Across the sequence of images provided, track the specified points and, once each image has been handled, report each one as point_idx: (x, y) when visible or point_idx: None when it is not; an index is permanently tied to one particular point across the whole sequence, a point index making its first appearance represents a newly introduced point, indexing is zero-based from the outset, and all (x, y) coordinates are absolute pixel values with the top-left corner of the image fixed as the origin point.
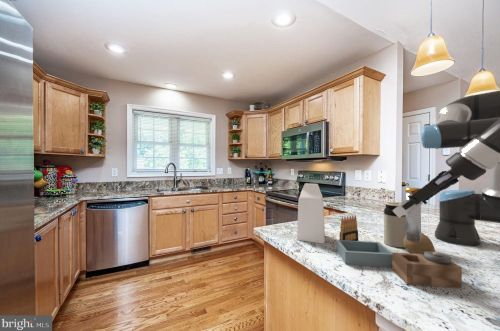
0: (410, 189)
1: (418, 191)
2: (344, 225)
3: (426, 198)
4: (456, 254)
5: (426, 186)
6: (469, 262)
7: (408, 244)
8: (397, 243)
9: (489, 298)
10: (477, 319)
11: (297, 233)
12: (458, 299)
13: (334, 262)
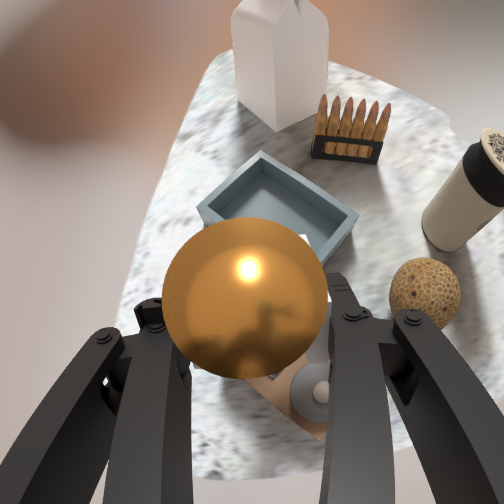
0: (166, 295)
1: (52, 393)
2: (329, 117)
3: (329, 392)
4: (500, 338)
5: (20, 453)
6: (478, 375)
7: (392, 284)
8: (434, 236)
9: (309, 466)
10: (196, 462)
11: (237, 89)
12: (248, 435)
13: (192, 205)
